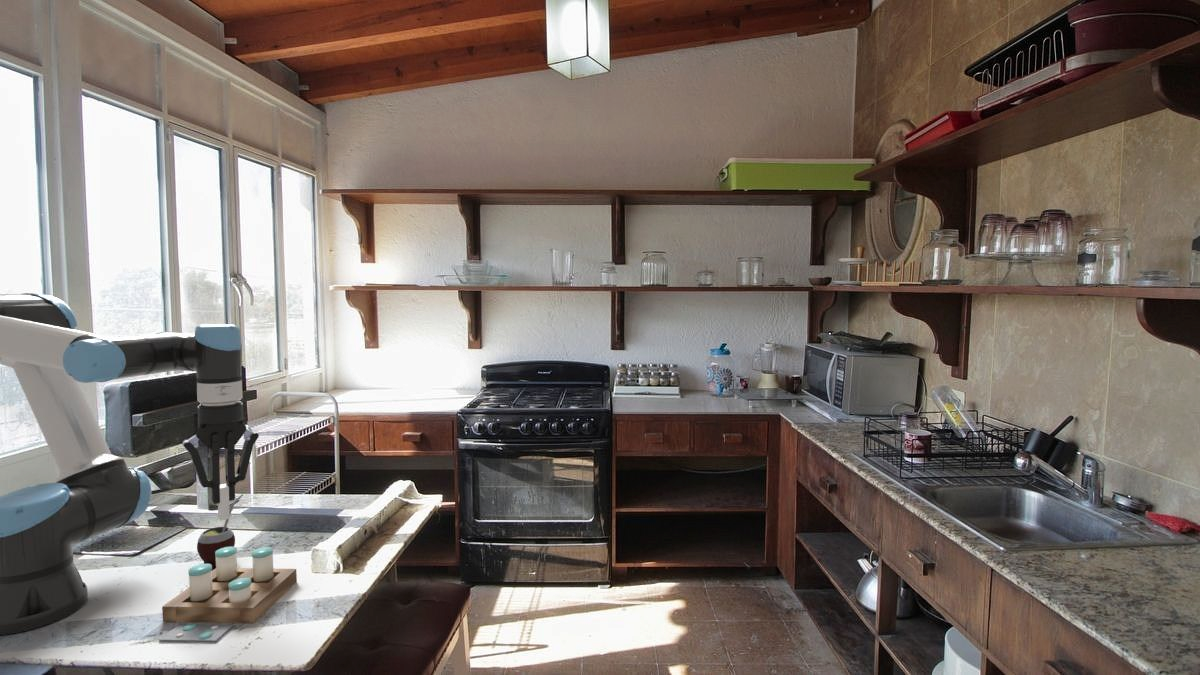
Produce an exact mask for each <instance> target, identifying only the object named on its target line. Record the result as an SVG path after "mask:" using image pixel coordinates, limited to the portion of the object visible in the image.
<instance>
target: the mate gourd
mask: <svg viewBox="0 0 1200 675" xmlns="http://www.w3.org/2000/svg"><path fill="white" fill-rule="evenodd" d="M243 496H244V494H243V493H242V494H241V495H239V496H238V497H236V498H235V499H234V500H233V502H232V503H231V505H229V510H230V515H231V513H232V511H233V510H234V506H235V505H236V503H237V502H238V501H239V500H240V499H241V498H243ZM229 520H230V518H229V519H225V522H224V525H223V526H214V527H211V528H208V529H206V530H204V531H203V532H202V533H201V534H200V536H199V537H198V540H197V544H196V550H197V553H198V555H199V557H200V559H201V560H202V561H203V563H202V564H211V565H212V571H213V570H214V569H216V556H215V552H216V551H217V550H219V549H221V548H225V547H235V544H236V536H235V534H234V531H233V530H232V529H231V528H230V527H228V523H229Z"/></svg>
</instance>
